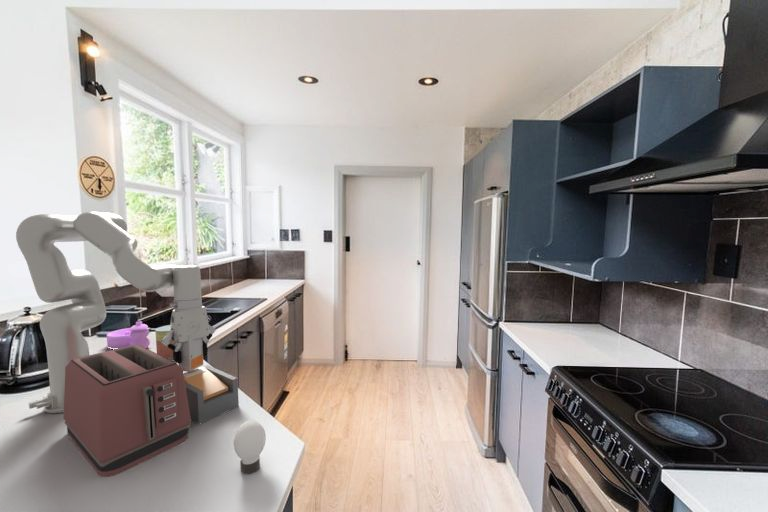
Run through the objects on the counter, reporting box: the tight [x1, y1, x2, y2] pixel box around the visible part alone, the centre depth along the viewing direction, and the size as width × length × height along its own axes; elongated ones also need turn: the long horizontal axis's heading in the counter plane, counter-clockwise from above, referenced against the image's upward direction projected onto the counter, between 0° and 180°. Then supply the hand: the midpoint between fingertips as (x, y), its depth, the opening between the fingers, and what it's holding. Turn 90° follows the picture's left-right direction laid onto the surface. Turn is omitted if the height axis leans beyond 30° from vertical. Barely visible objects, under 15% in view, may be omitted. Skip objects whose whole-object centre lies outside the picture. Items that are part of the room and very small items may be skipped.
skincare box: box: [178, 334, 204, 373], centre depth 107 cm, size 6×4×12 cm
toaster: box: [63, 344, 192, 478], centre depth 88 cm, size 19×34×20 cm, turn 55°
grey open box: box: [185, 364, 239, 425], centre depth 103 cm, size 12×18×9 cm, turn 55°
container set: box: [106, 320, 151, 349], centre depth 160 cm, size 25×15×13 cm, turn 58°
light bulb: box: [233, 419, 266, 474], centre depth 76 cm, size 7×7×11 cm
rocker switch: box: [183, 366, 228, 400], centre depth 103 cm, size 8×15×3 cm, turn 55°
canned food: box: [154, 324, 174, 359], centre depth 149 cm, size 11×11×12 cm
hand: (191, 358), depth 107 cm, fingers closed on skincare box, 7 cm apart
